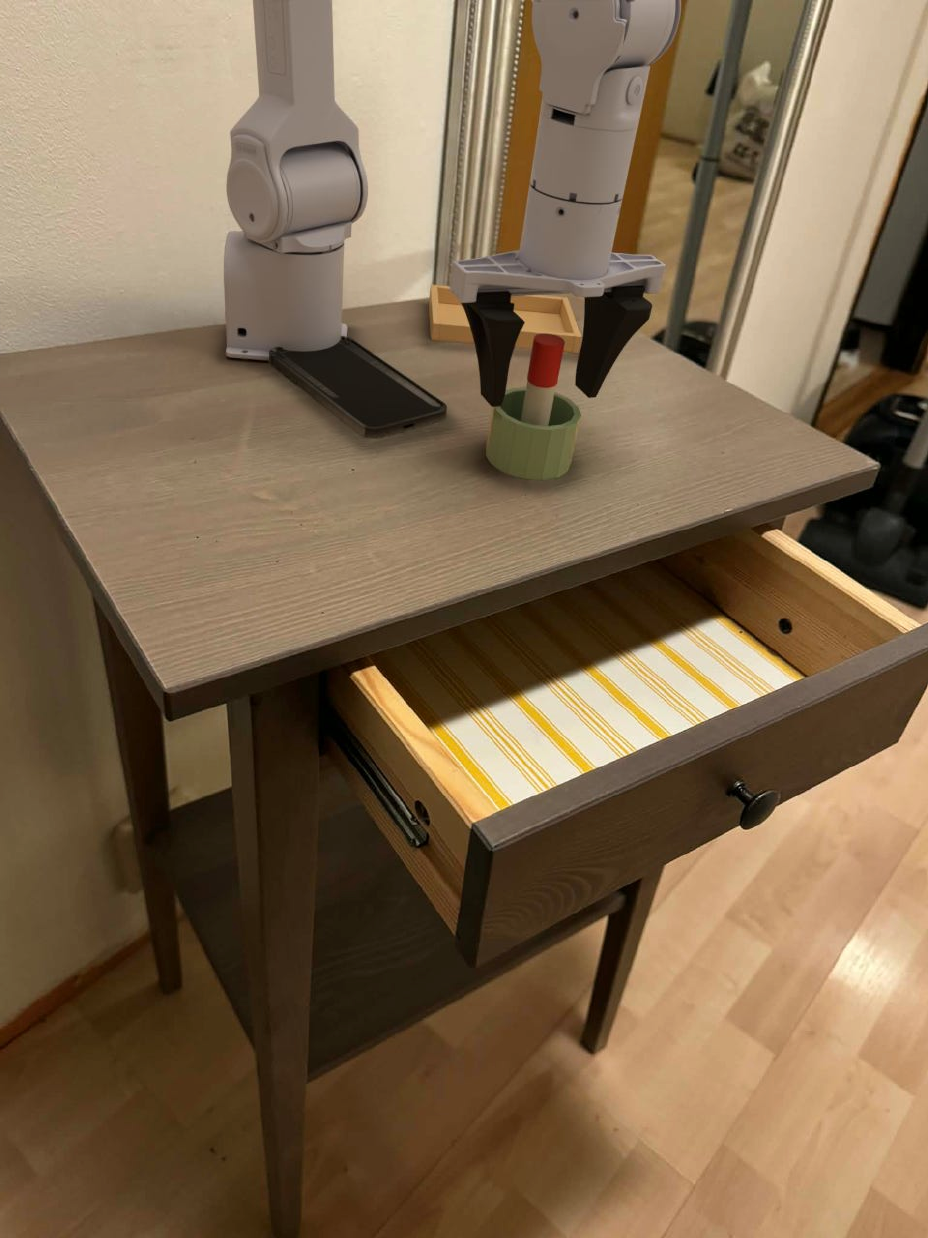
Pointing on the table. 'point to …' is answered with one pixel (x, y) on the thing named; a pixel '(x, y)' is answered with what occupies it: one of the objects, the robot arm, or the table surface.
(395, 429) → the phone
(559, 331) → the pen tray
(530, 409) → the marker
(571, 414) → the pen cup
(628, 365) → the table surface
